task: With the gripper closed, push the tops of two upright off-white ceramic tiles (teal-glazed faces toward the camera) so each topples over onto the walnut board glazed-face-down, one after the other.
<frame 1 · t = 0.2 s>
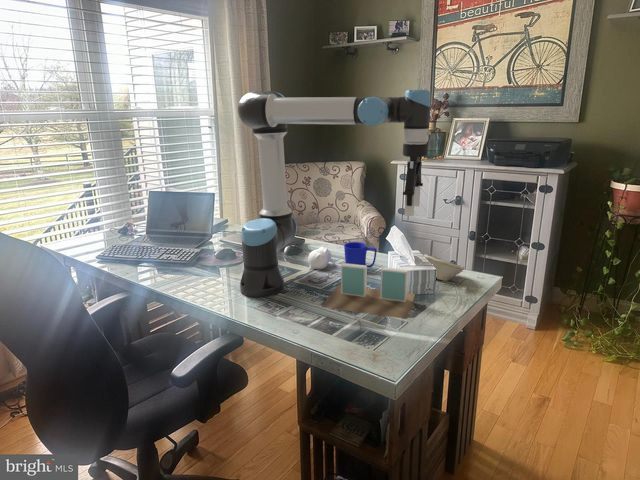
hand: (412, 210, 142), 27 cm above the table, fingers open, 13 cm apart
tile a: (353, 294, 145), point 1 cm above the table, touching board
tile b: (393, 299, 141), point 1 cm above the table, touching board
crumpled paper ball: (322, 268, 173), on the table
bowl: (442, 280, 159), on the table
mug: (360, 271, 169), on the table
board: (369, 303, 141), on the table
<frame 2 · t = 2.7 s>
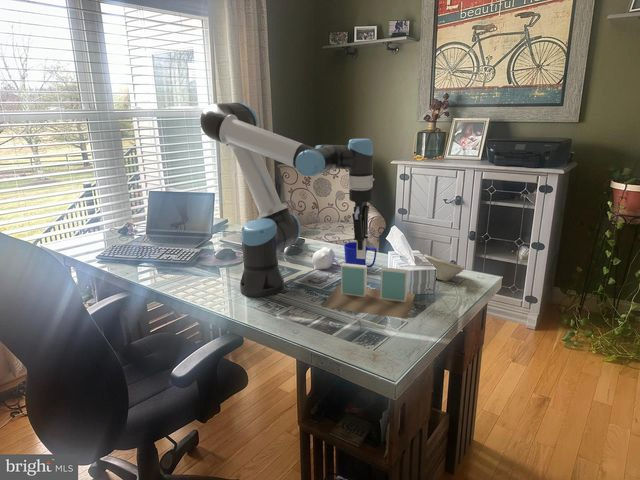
hand: (361, 257, 150), 11 cm above the table, fingers closed
crumpled paper ball: (326, 268, 172), on the table
everything else where it was.
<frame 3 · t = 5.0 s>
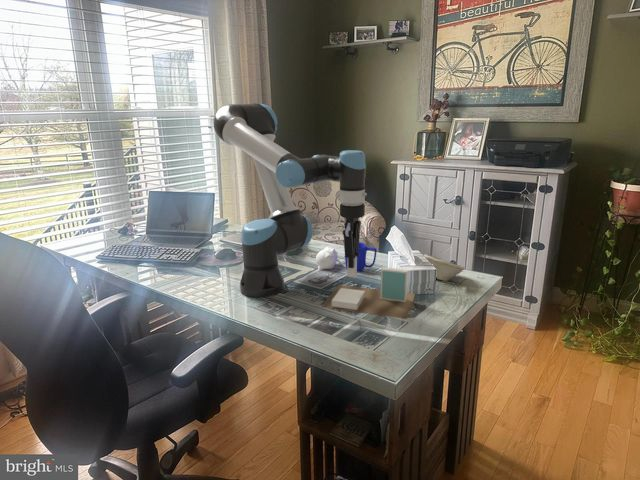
hand: (351, 276, 141), 8 cm above the table, fingers closed
tile a: (352, 292, 144), point 2 cm above the table, tilted 90°, touching board
crumpled paper ball: (329, 268, 172), on the table
everything else where it was.
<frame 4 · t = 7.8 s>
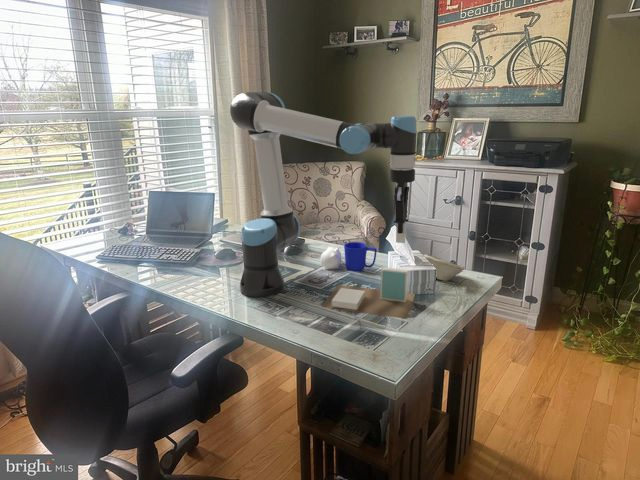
hand: (400, 241, 143), 18 cm above the table, fingers closed
crumpled paper ball: (333, 268, 172), on the table
everything else where it was.
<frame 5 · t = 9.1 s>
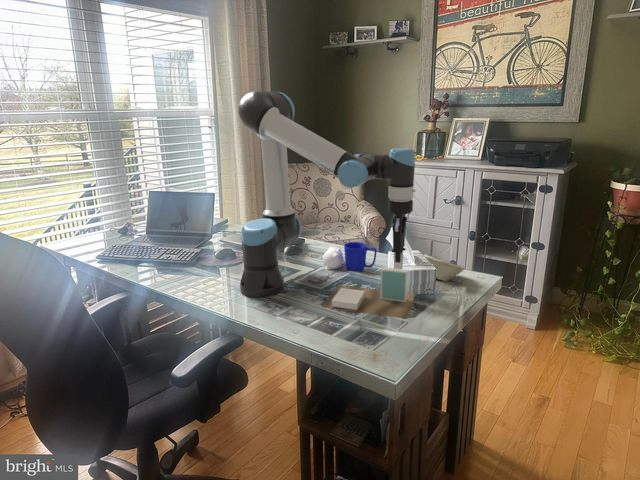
hand: (397, 270, 145), 8 cm above the table, fingers closed
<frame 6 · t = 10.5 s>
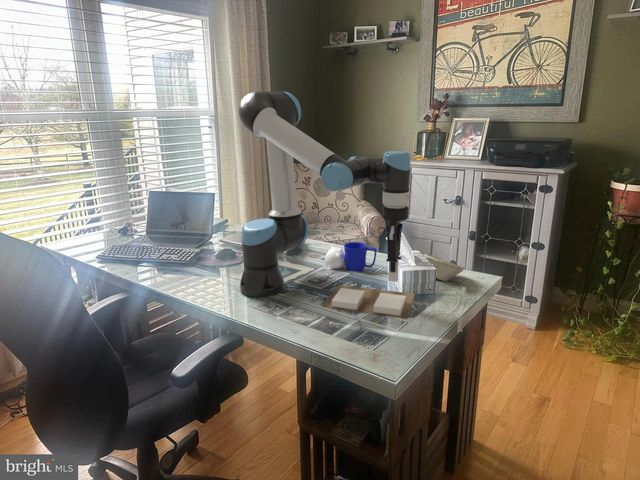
hand: (393, 280, 137), 8 cm above the table, fingers closed
tile b: (393, 297, 140), point 2 cm above the table, tilted 90°, touching board
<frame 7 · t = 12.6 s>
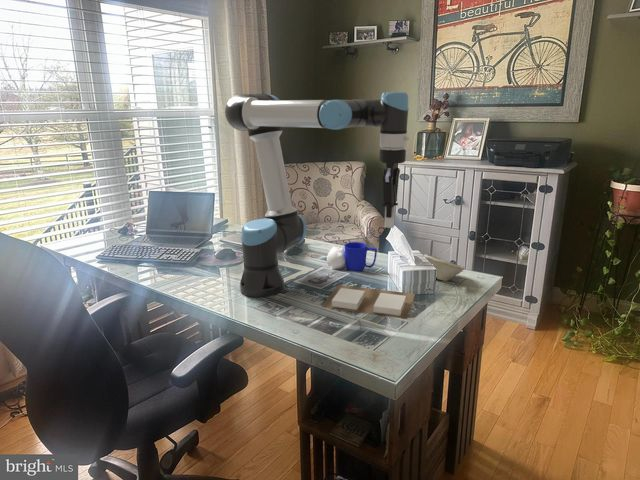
hand: (389, 226, 136), 24 cm above the table, fingers closed
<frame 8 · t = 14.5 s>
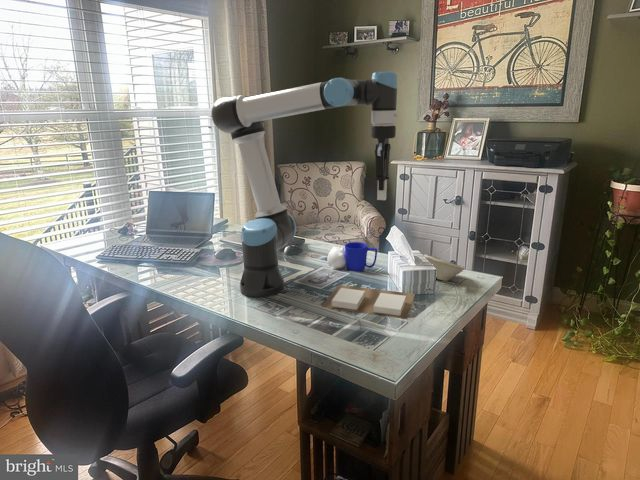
hand: (381, 199, 146), 30 cm above the table, fingers closed
at the end: tile a tilted 90°; tile b tilted 90°; tile a inside the target area on the board (6.5 cm from its centre), point 2.3 cm above the board's base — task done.
